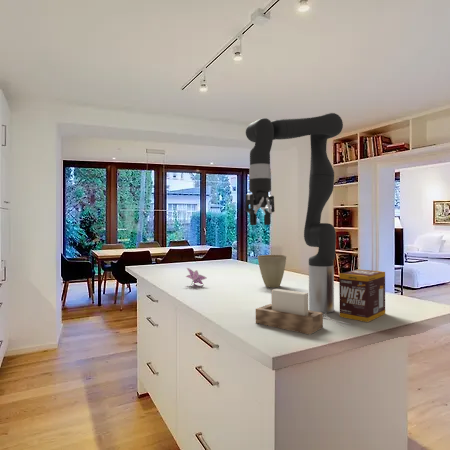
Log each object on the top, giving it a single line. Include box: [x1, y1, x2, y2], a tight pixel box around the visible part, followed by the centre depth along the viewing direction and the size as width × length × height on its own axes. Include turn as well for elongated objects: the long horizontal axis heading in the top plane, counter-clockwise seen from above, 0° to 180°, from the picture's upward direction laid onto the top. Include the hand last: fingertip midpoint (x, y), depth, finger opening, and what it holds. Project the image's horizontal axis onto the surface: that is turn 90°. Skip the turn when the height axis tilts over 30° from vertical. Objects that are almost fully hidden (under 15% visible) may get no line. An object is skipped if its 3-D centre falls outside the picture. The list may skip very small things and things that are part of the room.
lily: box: [185, 267, 207, 286], centre depth 191 cm, size 12×12×10 cm
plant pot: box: [257, 254, 287, 289], centre depth 187 cm, size 15×15×16 cm
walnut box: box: [255, 303, 324, 335], centre depth 118 cm, size 20×9×5 cm, turn 50°
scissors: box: [323, 313, 350, 328], centre depth 125 cm, size 11×1×20 cm
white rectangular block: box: [271, 288, 309, 316], centre depth 118 cm, size 12×3×10 cm, turn 50°
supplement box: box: [338, 268, 386, 323], centre depth 129 cm, size 10×15×16 cm
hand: (260, 224), depth 125 cm, fingers open, 8 cm apart
